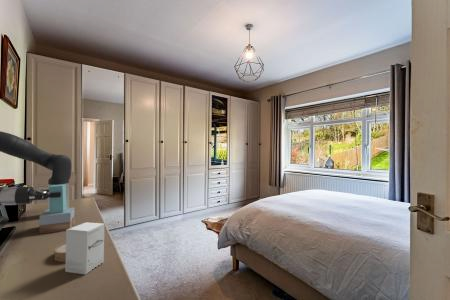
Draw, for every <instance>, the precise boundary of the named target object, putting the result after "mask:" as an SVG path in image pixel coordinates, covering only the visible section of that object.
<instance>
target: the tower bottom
mask: <svg viewBox="0 0 450 300" xmlns="http://www.w3.org/2000/svg"><path fill="white" fill-rule="evenodd" d="M75 224H76V215H75V214H74V217H73V218H72V220H71V222H64V223H56V224H47V225H40V224H39V230H38V231H39V234H45V233H55V232H56V233H57V232H64V231H66V230H67V229H70V228H72V227H74V226H75Z"/></svg>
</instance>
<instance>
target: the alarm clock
mask: <svg viewBox="0 0 450 300" xmlns="http://www.w3.org/2000/svg"><path fill="white" fill-rule="evenodd" d="M105 243H106V239H105V238H104V244H105ZM53 253H54V261H56V262H58V263H66V241H65V242H63V243H60V244H58V245H57V246H56V247H55V248H54V250H53Z"/></svg>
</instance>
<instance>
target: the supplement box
mask: <svg viewBox="0 0 450 300" xmlns="http://www.w3.org/2000/svg"><path fill="white" fill-rule="evenodd" d="M65 231H66V232H65V242H66V262H65V268H64V269H65V273H71V274H77V273H78V274H79V275H88V273H90V272H92V271H93V270H94V269H96V268H97V267H99V266H100V265H102V264H103V263H105V243H104V239H105V223H102V222H87V221H86V222H83V223H80V224H78V225H74V226H73V227H72V228H70V229H67V230H65ZM101 263H102V264H101ZM98 265H99V266H98ZM95 267H96V268H95ZM92 269H93V270H92Z"/></svg>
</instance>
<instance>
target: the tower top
mask: <svg viewBox="0 0 450 300" xmlns="http://www.w3.org/2000/svg"><path fill="white" fill-rule="evenodd" d="M75 209H76V208H75V207H69V208H66V210H65V211H64V212H60V213H52V214H50V210H48V209H46V210H45V211H43V212H42V214H40V215H39V226H40V225H47V224H56V223H64V222H71V220H72V218H73V217H74V215H75Z"/></svg>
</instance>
